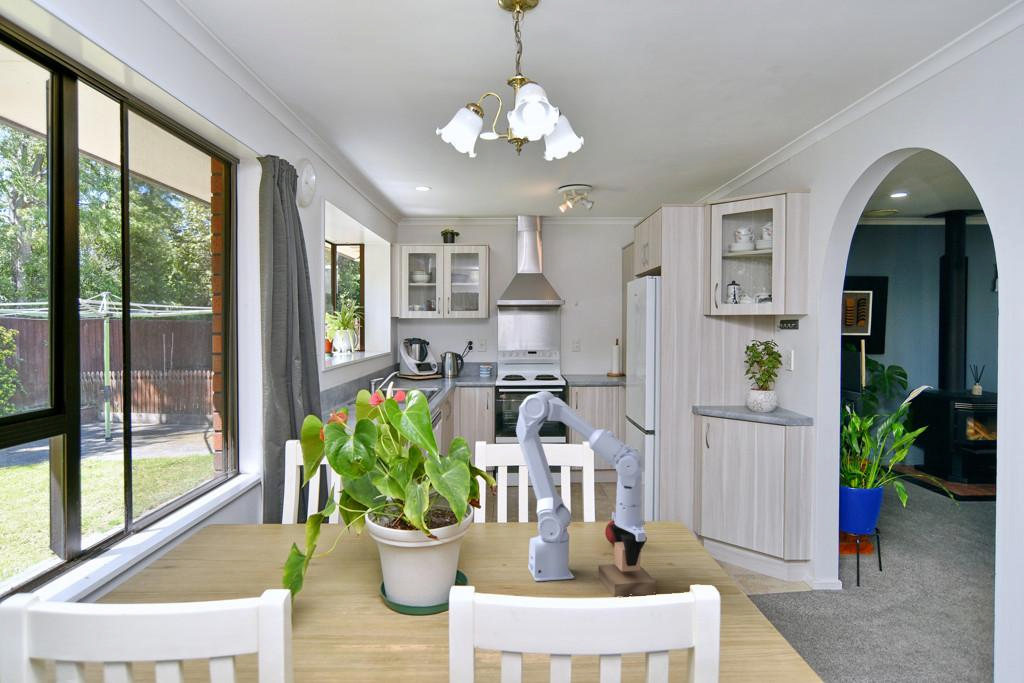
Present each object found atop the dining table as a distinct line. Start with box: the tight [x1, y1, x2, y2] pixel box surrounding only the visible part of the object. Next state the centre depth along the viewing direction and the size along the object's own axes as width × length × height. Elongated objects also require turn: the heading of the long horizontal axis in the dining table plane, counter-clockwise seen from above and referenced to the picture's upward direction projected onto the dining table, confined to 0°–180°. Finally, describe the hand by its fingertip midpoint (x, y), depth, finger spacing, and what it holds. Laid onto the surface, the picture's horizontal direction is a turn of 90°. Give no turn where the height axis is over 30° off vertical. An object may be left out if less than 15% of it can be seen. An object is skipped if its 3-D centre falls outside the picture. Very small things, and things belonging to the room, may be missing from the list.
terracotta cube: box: [613, 542, 642, 572], centre depth 127 cm, size 4×4×5 cm
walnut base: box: [597, 563, 657, 598], centre depth 127 cm, size 10×10×3 cm
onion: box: [604, 520, 615, 547], centre depth 151 cm, size 6×6×8 cm
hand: (626, 560), depth 127 cm, fingers closed on terracotta cube, 4 cm apart
